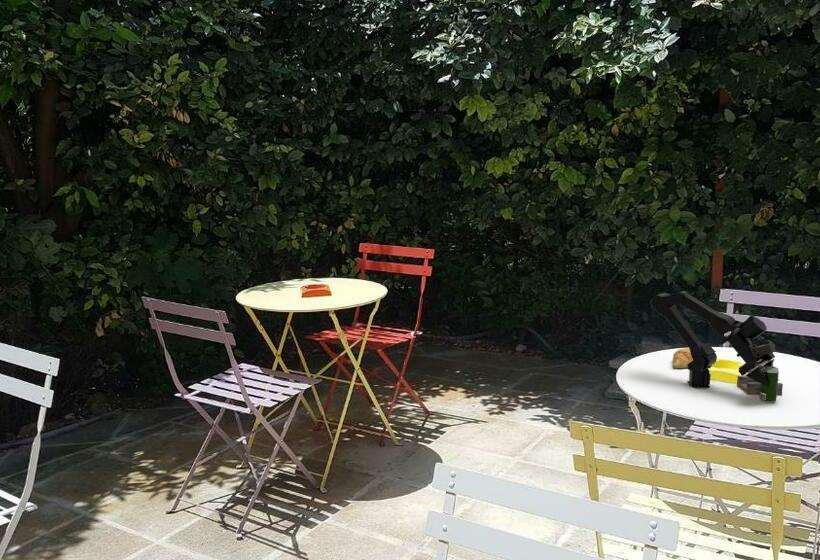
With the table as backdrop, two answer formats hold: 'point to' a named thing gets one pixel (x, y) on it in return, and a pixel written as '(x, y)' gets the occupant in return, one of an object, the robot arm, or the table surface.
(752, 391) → the track board
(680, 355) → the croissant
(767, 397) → the beer can
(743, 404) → the table surface
